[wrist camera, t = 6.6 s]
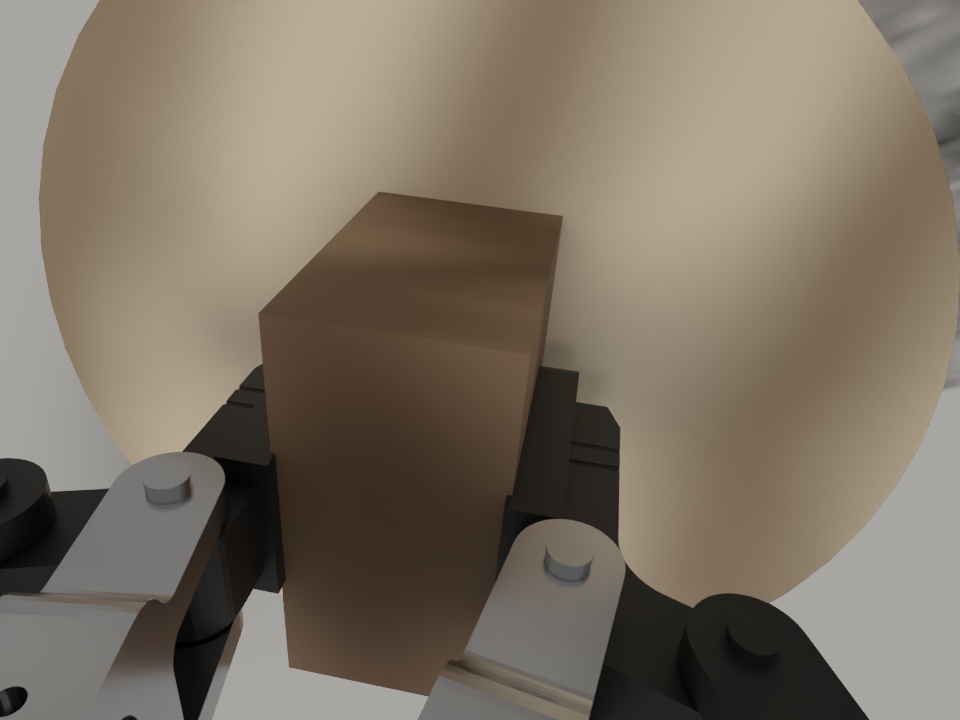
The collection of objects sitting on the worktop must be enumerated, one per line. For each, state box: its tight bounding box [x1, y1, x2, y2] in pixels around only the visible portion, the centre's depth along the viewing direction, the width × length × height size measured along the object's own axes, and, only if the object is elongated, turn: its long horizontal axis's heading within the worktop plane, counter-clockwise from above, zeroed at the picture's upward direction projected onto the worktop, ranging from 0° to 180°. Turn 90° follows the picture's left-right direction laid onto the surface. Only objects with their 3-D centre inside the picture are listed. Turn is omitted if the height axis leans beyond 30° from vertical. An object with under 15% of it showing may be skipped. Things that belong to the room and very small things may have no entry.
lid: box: [39, 0, 960, 696], centre depth 12 cm, size 16×16×6 cm
